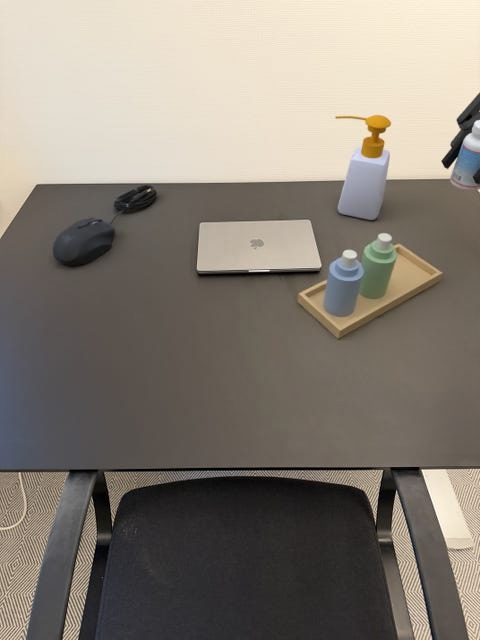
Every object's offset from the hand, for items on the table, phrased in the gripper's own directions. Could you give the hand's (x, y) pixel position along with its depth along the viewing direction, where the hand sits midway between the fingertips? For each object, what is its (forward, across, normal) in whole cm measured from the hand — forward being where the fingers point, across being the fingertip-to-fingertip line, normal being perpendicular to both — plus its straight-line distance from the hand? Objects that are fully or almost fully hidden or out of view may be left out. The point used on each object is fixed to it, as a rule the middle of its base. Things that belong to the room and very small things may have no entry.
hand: (459, 172), depth 85 cm
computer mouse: (+50, +49, +21) cm, 73 cm away
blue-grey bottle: (+32, 0, +4) cm, 32 cm away
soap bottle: (+14, +24, -15) cm, 32 cm away
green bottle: (+26, 0, -2) cm, 26 cm away
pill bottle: (0, 0, -5) cm, 5 cm away
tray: (+27, 0, -2) cm, 27 cm away
